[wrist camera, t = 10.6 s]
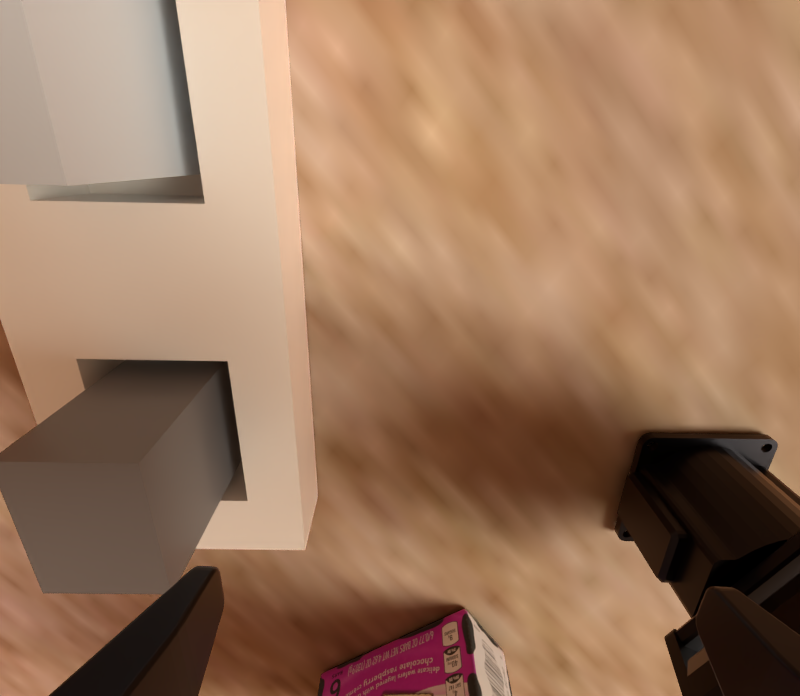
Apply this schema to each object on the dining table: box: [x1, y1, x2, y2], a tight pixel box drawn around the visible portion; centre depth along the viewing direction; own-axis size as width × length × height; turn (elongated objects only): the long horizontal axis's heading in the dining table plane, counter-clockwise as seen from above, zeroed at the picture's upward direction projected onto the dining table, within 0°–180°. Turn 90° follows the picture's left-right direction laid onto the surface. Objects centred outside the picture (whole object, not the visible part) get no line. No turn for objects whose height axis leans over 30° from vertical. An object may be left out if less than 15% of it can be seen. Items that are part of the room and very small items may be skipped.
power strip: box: [0, 0, 318, 550], centre depth 17 cm, size 10×24×4 cm, turn 179°
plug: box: [0, 0, 201, 186], centre depth 12 cm, size 4×5×8 cm
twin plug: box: [0, 360, 242, 594], centre depth 17 cm, size 4×5×8 cm
